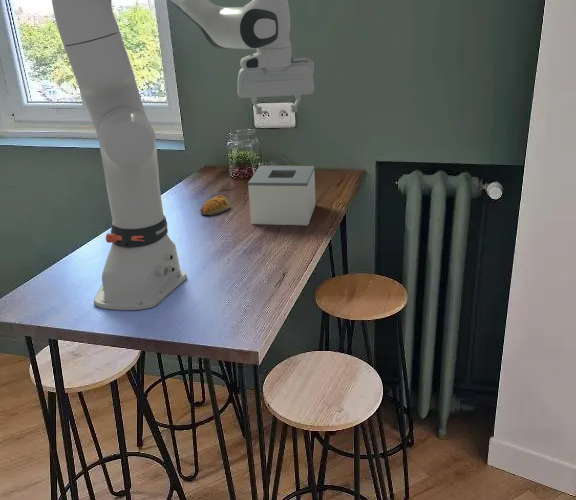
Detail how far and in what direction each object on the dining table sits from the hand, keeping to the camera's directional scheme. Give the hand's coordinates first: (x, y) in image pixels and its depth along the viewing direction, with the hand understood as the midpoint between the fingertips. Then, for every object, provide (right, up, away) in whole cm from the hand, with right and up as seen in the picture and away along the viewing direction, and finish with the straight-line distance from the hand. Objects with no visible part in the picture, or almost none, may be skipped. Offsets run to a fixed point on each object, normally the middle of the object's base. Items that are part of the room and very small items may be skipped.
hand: (276, 113), depth 161 cm
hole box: (+2, -26, +12) cm, 29 cm away
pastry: (-18, -25, +18) cm, 36 cm away
